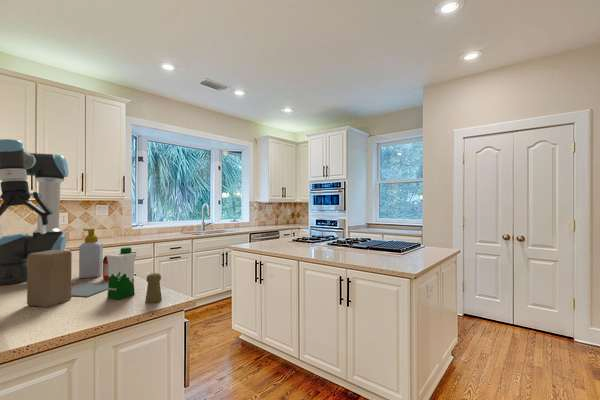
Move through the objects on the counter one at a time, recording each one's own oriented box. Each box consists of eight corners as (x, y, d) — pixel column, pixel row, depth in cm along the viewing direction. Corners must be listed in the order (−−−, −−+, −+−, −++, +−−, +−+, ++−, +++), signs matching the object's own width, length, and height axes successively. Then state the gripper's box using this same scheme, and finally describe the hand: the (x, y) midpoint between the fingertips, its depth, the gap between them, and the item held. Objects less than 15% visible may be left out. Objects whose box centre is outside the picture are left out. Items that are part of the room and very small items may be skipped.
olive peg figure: (145, 304, 113) (145, 276, 113) (145, 299, 119) (145, 272, 119) (162, 302, 116) (162, 274, 116) (161, 297, 121) (161, 271, 121)
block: (46, 308, 109) (47, 254, 109) (25, 306, 111) (26, 253, 111) (72, 299, 119) (72, 250, 119) (52, 297, 121) (53, 249, 121)
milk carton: (138, 294, 125) (138, 248, 125) (118, 301, 117) (119, 251, 117) (123, 292, 128) (123, 246, 128) (103, 298, 120) (103, 250, 120)
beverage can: (120, 277, 153) (120, 254, 153) (111, 280, 147) (111, 256, 147) (109, 277, 153) (109, 254, 153) (99, 280, 147) (100, 256, 147)
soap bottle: (83, 274, 157) (83, 228, 157) (102, 273, 161) (103, 227, 161) (78, 279, 149) (78, 230, 149) (99, 277, 153) (99, 229, 153)
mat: (86, 283, 142) (86, 282, 142) (119, 284, 139) (119, 283, 139) (50, 294, 124) (50, 293, 124) (87, 297, 121) (87, 295, 121)
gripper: (-37, 183, 103) (-29, 242, 103) (50, 177, 112) (57, 232, 112) (-23, 184, 110) (-15, 240, 110) (58, 179, 119) (65, 230, 119)
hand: (21, 236), depth 111 cm, fingers open, 13 cm apart
